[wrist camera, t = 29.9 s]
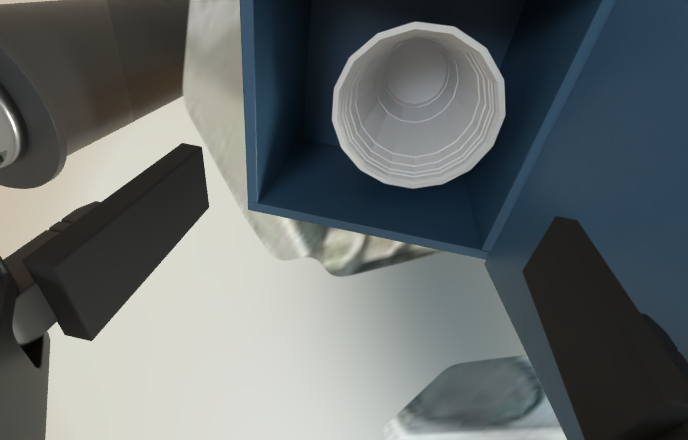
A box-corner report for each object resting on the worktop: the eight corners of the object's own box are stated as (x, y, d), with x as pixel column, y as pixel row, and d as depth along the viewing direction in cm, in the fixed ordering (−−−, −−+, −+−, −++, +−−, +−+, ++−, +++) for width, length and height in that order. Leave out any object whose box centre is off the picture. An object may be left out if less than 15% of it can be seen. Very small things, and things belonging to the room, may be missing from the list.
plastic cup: (341, 111, 34) (312, 164, 25) (379, -15, 28) (359, -9, 18) (443, 148, 35) (453, 214, 25) (503, 32, 28) (548, 61, 19)
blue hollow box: (297, 141, 38) (247, 209, 27) (308, -64, 28) (235, -91, 17) (466, 174, 37) (487, 260, 26) (544, -27, 27) (636, -29, 15)
